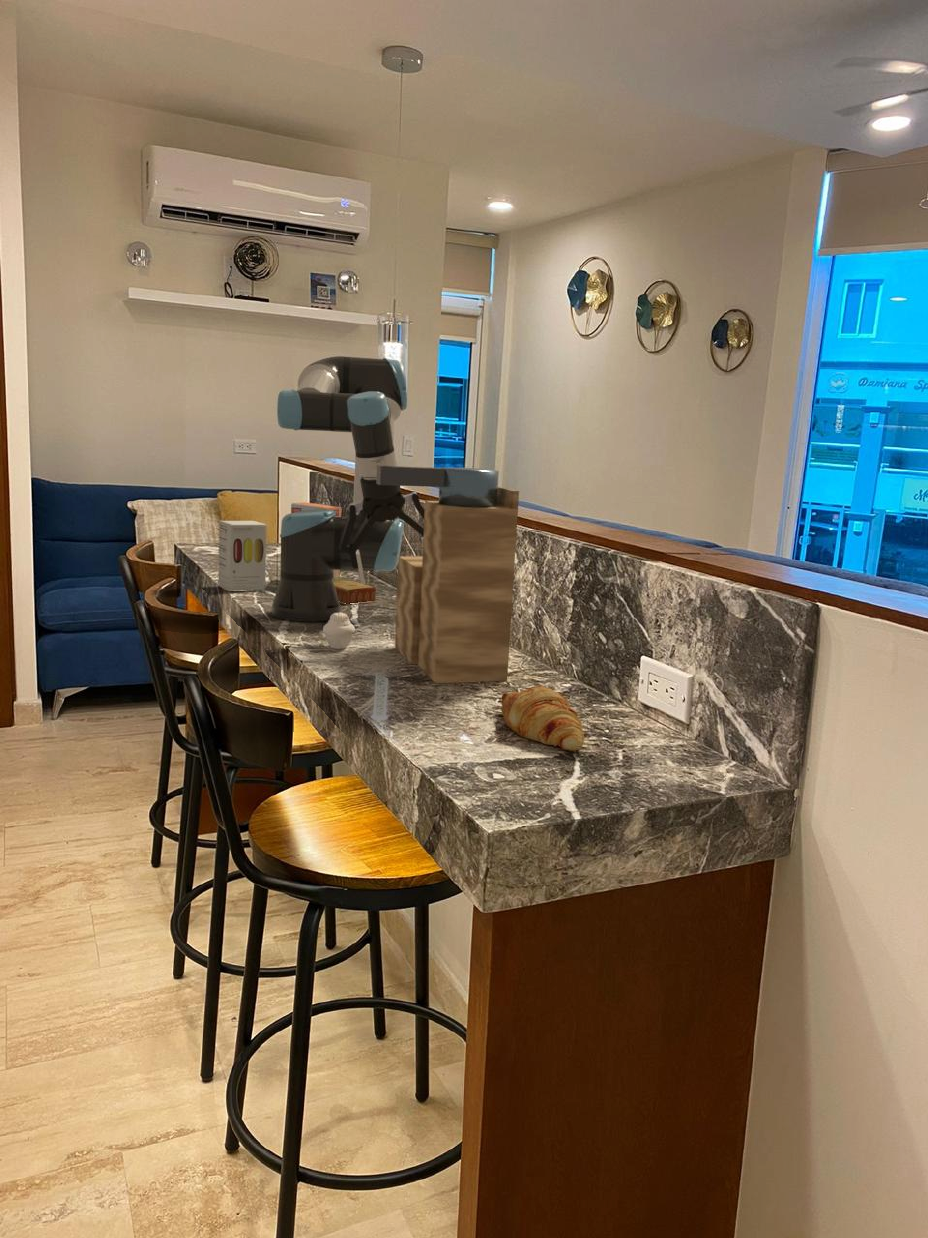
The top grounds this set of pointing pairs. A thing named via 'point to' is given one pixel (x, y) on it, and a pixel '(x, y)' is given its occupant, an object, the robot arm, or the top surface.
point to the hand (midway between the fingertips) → (395, 575)
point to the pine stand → (460, 592)
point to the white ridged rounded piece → (338, 631)
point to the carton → (353, 591)
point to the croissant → (543, 717)
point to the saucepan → (447, 483)
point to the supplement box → (242, 555)
